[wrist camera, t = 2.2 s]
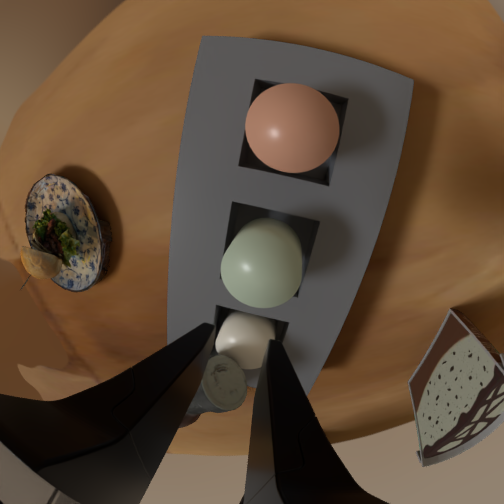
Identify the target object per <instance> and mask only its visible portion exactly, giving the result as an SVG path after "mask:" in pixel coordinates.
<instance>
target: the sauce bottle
mask: <svg viewBox="0 0 504 504" xmlns="http://www.w3.org/2000/svg"><path fill="white" fill-rule="evenodd" d="M246 395H247V381H246V377H245V374H244V372H243V371H242V369H241V368H240V366H239V365H238V364H237V362H235V361H234V360H233V359H231V358H229V357H227V356H223V355H214V356H211V357H209V360H208V363H207V366H206V369H205V372H204V375H203V378H202V381H201V384H200V386H199V388H198V390H197V392H196V394H195V396H194V398H193V400H192V402H191V404H190V406H189V408H188V410H187V412H186V414H185V416H184V418H183V420H182V422H181V424H180V426H179V428H182V427H185V426H188V425H190V424H192V423H194V422H195V421H196V420H197V419H198V418H199V416H200V415H201V414H202V413H204V412H210V411H211V412H215V413H221V412H227V411H231V410H234V409H236V408H238V407H239V406H241V405H242V403H243V402H244V400H245V398H246Z"/></svg>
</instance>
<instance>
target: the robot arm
mask: <svg viewBox="0 0 504 504" xmlns="http://www.w3.org/2000/svg"><path fill="white" fill-rule="evenodd" d="M215 331H216V326H215V325H214V324H210V323H206V322H204V323H202V324H200V325H199V326H197V327H196V328H194V329H192V330H191V331H189V332H188V333H186V334H184V335H183V336H181V337H180V338H178V339H176V340H175V341H173V342H172V343H170V344H168V345H167V346H165V347H164V348H162V349H160V350H159V351H157V352H155V353H154V354H152V355H151V356H149V357H147V358H146V359H144V360H142V361H141V362H139V363H137V364H136V365H134V366H133V367H132V368H133V369H132V368H129V369H127V370H125V371H124V372H122V373H120V374H118V375H117V376H115V377H113V378H111V379H109V380H107V381H105V382H103V383H100V384H98V385H96V386H94V387H91V388H89V389H86V390H84V391H82V392H79V393H77V394H74V395H72V396H69V397H67V398H64V399H60V400H56V401H40V400H33V399H26V398H20V397H14V396H9V395H4V394H0V504H139V503H140V501H141V499H142V498H143V496H144V494H145V492H146V490H147V488H148V486H149V484H150V481H151V480H152V478H153V477H154V475H155V473H156V471H157V469H158V467H159V465H160V463H161V461H162V459H163V457H164V455H165V453H166V451H167V449H168V447H169V446H170V444H171V442H172V440H173V438H174V436H175V434H176V432H177V430H178V428H179V426H180V424H181V422H182V420H183V418H184V416H185V414H186V412H187V410H188V408H189V406H190V404H191V402H192V400H193V398H194V396H195V394H196V392H197V390H198V388H199V386H200V384H201V381H202V378H203V375H204V372H205V369H206V366H207V363H208V360H209V357H210V354H211V351H212V348H213V345H214V338H215ZM239 504H389V503H387V502H385V501H383V500H381V499H379V498H377V497H375V496H373V495H371V494H369V493H367V492H366V491H364V490H363V489H362V488H361V487H360V486H359V485H358V484H357V483H356V482H355V480H354V479H353V477H352V476H351V474H350V473H349V471H348V470H347V468H346V467H345V466H344V464H343V462H342V461H341V459H340V458H339V457H338V455H337V453H336V452H335V450H334V449H333V447H332V445H331V444H330V442H329V441H328V439H327V437H326V435H325V433H324V431H323V429H322V427H321V426H320V423H319V421H318V419H317V417H315V413H314V411H313V408H312V406H311V404H310V402H309V400H308V398H307V396H306V393H305V391H304V389H303V387H302V385H301V383H300V381H299V378H298V376H297V374H296V372H295V370H294V368H293V365H292V363H291V361H290V359H289V357H288V354H287V352H286V350H285V348H284V346H283V344H282V342H281V341H279V340H274V339H270V340H269V341H268V344H267V348H266V351H265V354H264V357H263V361H262V366H261V370H260V375H259V379H258V383H257V388H256V392H255V397H254V404H253V415H252V425H251V435H250V445H249V455H248V465H247V475H246V484H245V493H244V496H243V497H242V499H241V501H240V503H239Z"/></svg>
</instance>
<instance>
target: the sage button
mask: <svg viewBox="0 0 504 504" xmlns="http://www.w3.org/2000/svg"><path fill="white" fill-rule="evenodd" d="M221 276H222V280H223V283H224V285H225V287H226V288H227V290H228V291H229V292H230V294H231V295H232V296H233V297H235V298H236V299H237V300H239V301H240V302H242V303H244V304H246V305H248V306H252V307H256V308H271V307H276V306H279V305H281V304H283V303H285V302H287V301H288V300H289V299H291V298H292V297H293V296H294V294H295V293H296V292H297V290H298V288H299V286H300V283H301V279H302V248H301V243H300V240H299V237H298V235H297V234H296V232H295V231H294V230H293V229H292V228H291V227H290V226H289V225H288V224H286V223H284V222H283V221H280V220H278V219H274V218H259V219H255V220H252V221H250V222H248V223H247V224H246V225H244V226H243V227H242V228H241V229H240V231H239V232H238V234H237V235H236V237H235V238H234V240H233V241H232V243H231V244H230V246H229V247H228V249H227V251H226V252H225V254H224V256H223V259H222V262H221Z"/></svg>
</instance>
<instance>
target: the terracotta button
mask: <svg viewBox="0 0 504 504" xmlns="http://www.w3.org/2000/svg"><path fill="white" fill-rule="evenodd" d="M245 131H246V137H247V140H248V143H249V145H250V147H251V149H252V151H253V152H254V153H255V155H256V156H257V157H258V158H259V159H260V160H261V161H262V162H263V163H265V164H266V165H268V166H270V167H271V168H274V169H276V170H279V171H282V172H288V173H300V172H305V171H309V170H312V169H314V168H316V167H318V166H319V165H321V164H322V163H324V162H325V161H326V160H327V159H328V158H329V157H330V155H331V154H332V153H333V151H334V149H335V147H336V145H337V142H338V138H339V121H338V117H337V114H336V112H335V109H334V108H333V106H332V104H331V103H330V102H329V101H328V99H327V98H326V97H325V96H324V95H322V94H321V93H320V92H318V91H317V90H315V89H313V88H311V87H309V86H306V85H302V84H296V83H286V84H280V85H276V86H273V87H271V88H269V89H267V90H265V91H264V92H262V93H261V94H260V95H259V96H258V97H257V98H256V99H255V100H254V102H253V103H252V105H251V106H250V108H249V110H248V113H247V117H246V123H245Z"/></svg>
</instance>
